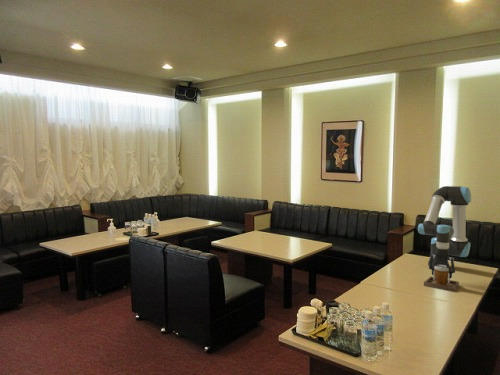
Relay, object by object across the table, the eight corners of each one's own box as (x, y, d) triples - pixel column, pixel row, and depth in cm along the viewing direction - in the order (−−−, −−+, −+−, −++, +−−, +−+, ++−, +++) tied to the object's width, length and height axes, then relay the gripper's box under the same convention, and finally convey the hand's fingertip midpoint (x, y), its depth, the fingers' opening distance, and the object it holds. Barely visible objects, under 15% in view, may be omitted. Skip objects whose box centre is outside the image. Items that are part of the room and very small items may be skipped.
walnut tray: (430, 279, 252) (430, 276, 252) (458, 285, 240) (459, 281, 240) (423, 285, 240) (423, 282, 240) (453, 291, 228) (454, 288, 228)
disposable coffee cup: (445, 281, 244) (446, 264, 244) (452, 286, 235) (452, 268, 234) (431, 281, 245) (431, 264, 245) (437, 285, 236) (437, 268, 235)
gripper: (424, 246, 243) (423, 279, 244) (459, 251, 229) (458, 286, 230) (427, 244, 248) (426, 276, 250) (461, 249, 235) (460, 283, 236)
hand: (441, 281), depth 240 cm, fingers closed on disposable coffee cup, 8 cm apart
